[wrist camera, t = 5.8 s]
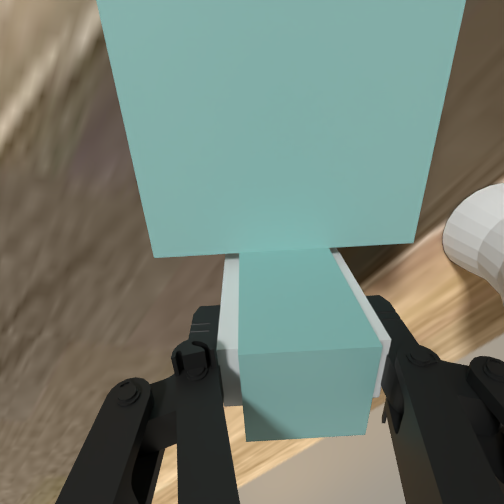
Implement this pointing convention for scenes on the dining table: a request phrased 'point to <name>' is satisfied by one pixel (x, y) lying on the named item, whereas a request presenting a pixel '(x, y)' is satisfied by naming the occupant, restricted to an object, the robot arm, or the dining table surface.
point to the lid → (285, 170)
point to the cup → (479, 235)
